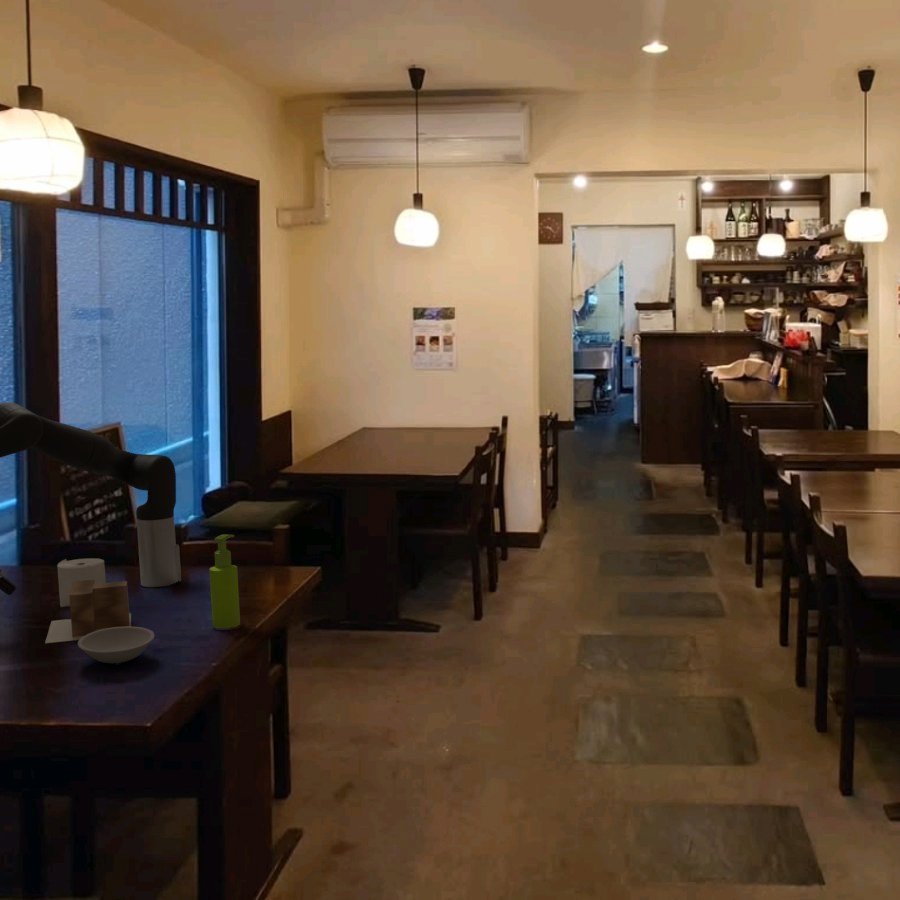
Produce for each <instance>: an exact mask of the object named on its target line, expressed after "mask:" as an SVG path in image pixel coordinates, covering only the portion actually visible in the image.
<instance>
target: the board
mask: <svg viewBox="0 0 900 900" xmlns="http://www.w3.org/2000/svg"><path fill="white" fill-rule="evenodd" d="M129 618H130V626H131V627H132V613H131V612H129ZM106 629H107V628H106ZM98 630H102V629H96V630H95V631H98ZM82 637H83V636H79V637H72V625H71V618H69V619H59V620H58V619H57V620H51V622H50V625H49V628H48V632H47V636H46V639H45V642H44V644H53V643H61V642H62V643H63V642H69V641H72V642H73V641H79V640H80V639H81V638H82Z"/></svg>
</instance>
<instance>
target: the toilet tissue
mask: <svg viewBox="0 0 900 900" xmlns="http://www.w3.org/2000/svg"><path fill="white" fill-rule="evenodd" d="M57 579H58V592H59V605H60V608H64V607H70V598H69V595H70V591H71V587H72V583H73V582H74V581H86V580H94V582H95V584H99V583H107V582H106V571H105V560H104V559H101V558H77V559H72V560H67V558H65V559H63V560H61V561H60V562H58V564H57Z"/></svg>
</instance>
